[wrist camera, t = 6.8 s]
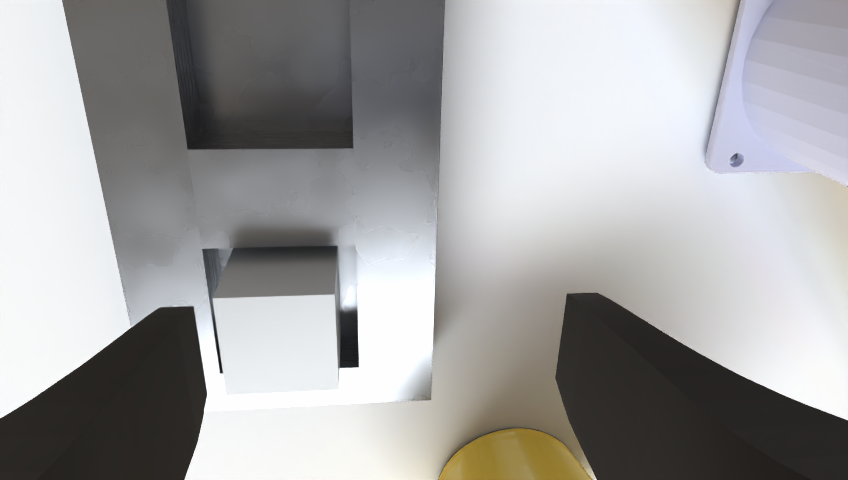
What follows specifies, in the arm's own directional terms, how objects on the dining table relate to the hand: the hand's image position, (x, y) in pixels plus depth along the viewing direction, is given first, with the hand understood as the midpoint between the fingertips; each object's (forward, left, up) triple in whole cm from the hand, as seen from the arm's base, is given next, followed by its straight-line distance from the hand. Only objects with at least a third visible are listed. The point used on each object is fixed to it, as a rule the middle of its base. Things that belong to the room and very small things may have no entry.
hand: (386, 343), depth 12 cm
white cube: (+3, +4, -10) cm, 11 cm away
